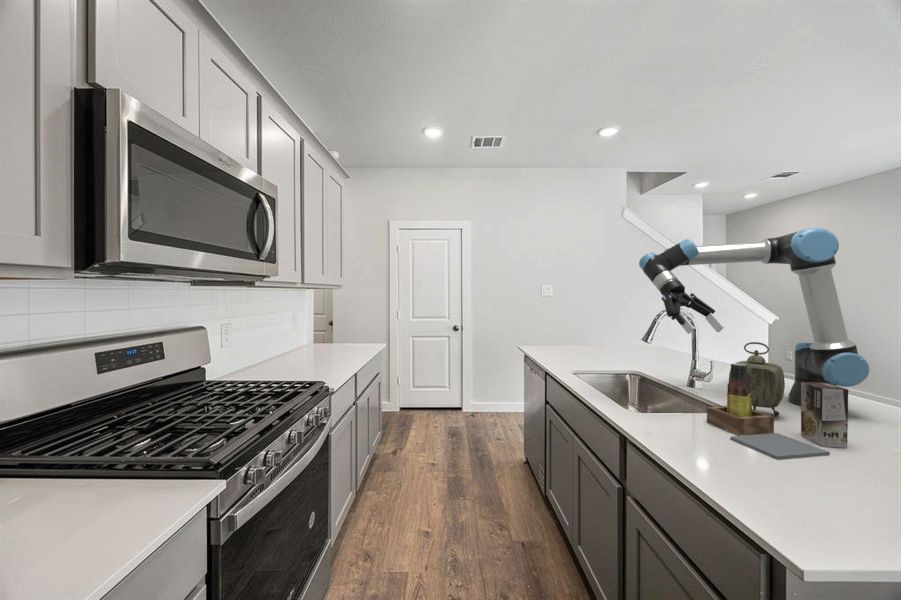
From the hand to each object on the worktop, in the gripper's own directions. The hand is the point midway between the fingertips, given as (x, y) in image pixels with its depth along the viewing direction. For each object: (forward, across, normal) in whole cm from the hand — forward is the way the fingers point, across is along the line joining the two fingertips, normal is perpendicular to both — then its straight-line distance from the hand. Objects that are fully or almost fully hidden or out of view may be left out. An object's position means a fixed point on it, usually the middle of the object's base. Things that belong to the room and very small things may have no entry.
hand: (706, 330), depth 134 cm
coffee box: (+40, -11, -2) cm, 42 cm away
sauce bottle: (+29, -1, -13) cm, 32 cm away
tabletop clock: (+24, -19, -18) cm, 35 cm away
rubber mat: (+39, +5, -3) cm, 39 cm away
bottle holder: (+29, -1, -13) cm, 31 cm away
